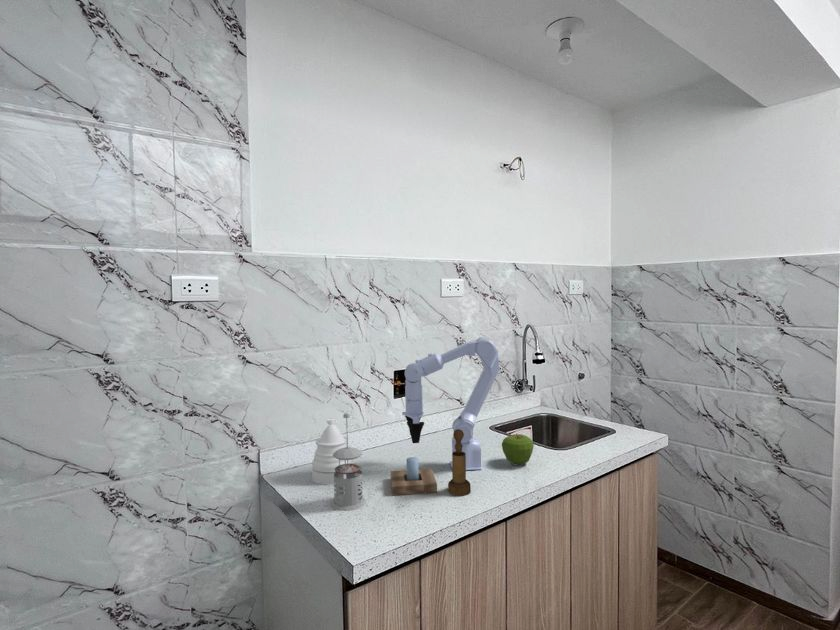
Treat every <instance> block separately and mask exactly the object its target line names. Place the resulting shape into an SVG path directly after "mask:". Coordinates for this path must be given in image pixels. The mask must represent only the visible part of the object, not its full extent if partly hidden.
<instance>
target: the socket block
mask: <svg viewBox="0 0 840 630" xmlns="http://www.w3.org/2000/svg"><path fill="white" fill-rule="evenodd" d="M418 470H419V480H418V481H407V469H403V470H402V469H401V470H391V471H390V485H391V495H392V496H404V495H405V496H406V495H418V494H419V495H421V494H437V493H438V483H437V480H436V478H435V474H434V472H433V469H432V468H425V469H423V468H422V469H418Z"/></svg>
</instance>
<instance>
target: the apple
mask: <svg viewBox="0 0 840 630" xmlns="http://www.w3.org/2000/svg"><path fill="white" fill-rule="evenodd" d="M534 446H535V445H534V442H533V440H532V438H530V437H529V436H527V435H524V434H512V435H508V436H506V437H504V438H503V440H502V442H501V447H502V448H501V449H502V452H503V454H504V456H505V458H506V460H507V461H508V462H510V463H511V464H512V465H513V466H524V465H525V464H527V463H528V462H529V461H530V459H531V456H532V454H533V451H534Z"/></svg>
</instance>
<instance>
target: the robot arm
mask: <svg viewBox="0 0 840 630" xmlns="http://www.w3.org/2000/svg"><path fill="white" fill-rule="evenodd" d="M476 355H477V356H478V357H479V359H480V361H481V364H482V367H483V369H482V372H481V373H480V375H479V378H478V380H477V382H476V383H475V386H474V388H473V390H472V392H471V395H469V398H468V400H467V402H466V404H465V407H464V408H463V410H462V411H461V412H460V414H459V416H458V417H457V418H455V419H454V421H453V423H452V431H453V432H454V431H455V430H457V429H460V430H462V431H463V433H464V436H463V439H462V440H461V445H463V447H462V452H464V453H465V454H466V471H475V470H476V471H477V470H482V469H483V467H482V449H481V447H482V446H481V443H480V440H479V439H474V437H473V436H474V427H475V425H476V421H477V417H478V415H479V413H480V411H481V409H482V407H483V406H484V403H485V401H486V399H487V397H488V395H489V393H490V390H491V388H492V387H493V384H494V382H495V381H496V378H497V376H498V373H499V372H500V368H501V367H500V360H499V350H498V349H497V347H496V344H495V343H494V342H493V341H492V340H490V339H489V338H488V337H478V338H477V339H473V340H470V341H466V342H464V343H463V344H461V345H459V346H456V347H453V348H452V349H450V350H448V351H446V352H444V353H442V354H438V353H432V352H430V353H428V356H426V357H423V358H421V359H415V361H414V362H411V363H409V364H408V365H407V366H406V368H405V370H404V377H405V381H404V384H405V385H404V389H405V391H404V393H405V394H404V395H405V411H402V413H401V414H402V416H404V417H405V419H406V425H407V426H408V430H409V434H410V438H411V441H412V442H411V443H412V444H419V443H420V440H421V434H422V430H423V427H424V425H425V422H424V421H420V420H421V418H422V417H423V415H424V411H423V410H424V408H423V407H424V405H423V385H422V377H427V376H429V375H431V374H434V373H436V372H438V371H441V370H442V369H443V367H444V365H445V364H447V363H450V362H452V361H454V360H457V359H460V358H462V357H465V356H471V357H472V356H473V357H476ZM455 445H456V440H455V438H454V436H452V437H451V454H452V453H453V452H455V451H456V449H455ZM449 465H450V466H451V468H452V460H451V461H449Z"/></svg>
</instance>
